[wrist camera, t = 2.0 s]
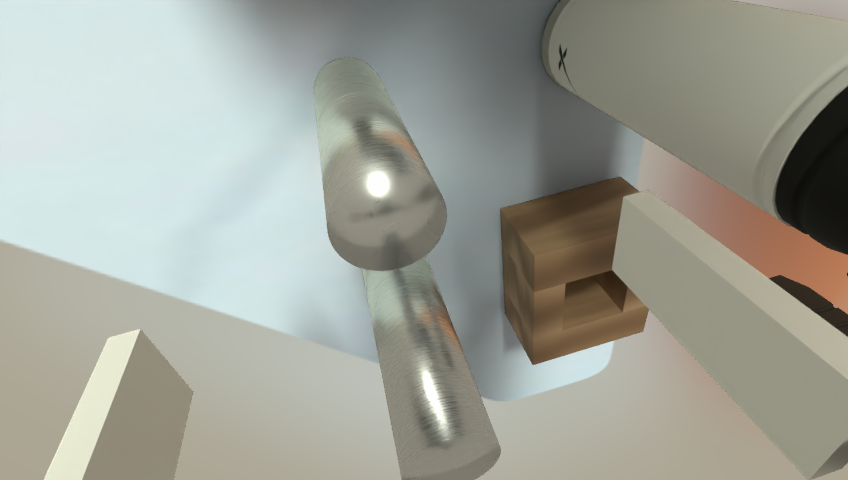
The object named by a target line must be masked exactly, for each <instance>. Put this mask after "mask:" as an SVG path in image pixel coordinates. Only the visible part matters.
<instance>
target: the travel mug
mask: <svg viewBox="0 0 848 480" xmlns="http://www.w3.org/2000/svg"><path fill="white" fill-rule="evenodd" d="M541 51H542V60H543V64H544V67H545V69H546V71H547V73H548V75H549V76H550V77H551V79H552V80H553V81H554V82H556V83H557V84H559V85H560V86H562V87H564V88H565V89H567V90H568V91H570V92H572V93H573V94H575V95H577V96H578V97H580V98H581V99H583V100H585V101H586V102H588V103H590V104H591V105H593V106H594V107H596V108H598V109H599V110H601V111H603V112H604V113H606V114H607V115H609V116H611V117H612V118H614V119H616V120H617V121H619V122H620V123H622V124H624V125H625V126H627V127H629V128H630V129H632V130H633V131H635V132H637V133H638V134H640V135H642V136H643V137H645V138H646V139H648V140H650V141H651V142H653V143H655V144H656V145H658V146H659V147H661V148H663V149H664V150H666V151H668V152H669V153H671V154H672V155H674V156H676V157H677V158H679V159H680V160H682V161H684V162H686V163H687V164H689V165H690V166H692V167H693V168H695V169H697V170H698V171H700V172H702V173H703V174H705V175H707V176H708V177H710V178H711V179H713V180H715V181H716V182H718V183H720V184H721V185H723V186H724V187H726V188H728V189H729V190H731V191H732V192H734V193H736V194H737V195H739V196H741V197H742V198H744V199H745V200H747V201H749V202H750V203H752V204H754V205H755V206H757V207H758V208H760V209H762V210H764V211H765V212H767V213H770V214H771V215H772V216H774V217H775V218H777V219H778V220H780V221H781V222H783V223H784V224H786V225H788V226H792V227H794V228H796V229H798V230H799V231H801V232H803V233H805V234H809V235H810V237H812V238H813V239H814V240H816V241H817V242H819V243H821V244H822V245H824V246H826V247H827V248H830V249H832V250H835V251H838V252H842V253H844V254H847V255H848V21H845V20H839V19H834V18H828V17H823V16H817V15H811V14H805V13H800V12H795V11H789V10H783V9H778V8H772V7H766V6H761V5H755V4H749V3H744V2H738V1H732V0H560V2H559V3H558V4H557V5H556V7H555V8H554V10H553V12H552V13H551V15H550V17H549V19H548V22H547V24H546V26H545V30H544V33H543V37H542V47H541ZM847 276H848V273H847Z"/></svg>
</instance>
